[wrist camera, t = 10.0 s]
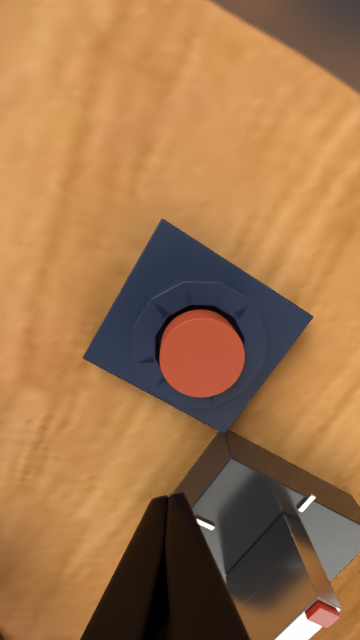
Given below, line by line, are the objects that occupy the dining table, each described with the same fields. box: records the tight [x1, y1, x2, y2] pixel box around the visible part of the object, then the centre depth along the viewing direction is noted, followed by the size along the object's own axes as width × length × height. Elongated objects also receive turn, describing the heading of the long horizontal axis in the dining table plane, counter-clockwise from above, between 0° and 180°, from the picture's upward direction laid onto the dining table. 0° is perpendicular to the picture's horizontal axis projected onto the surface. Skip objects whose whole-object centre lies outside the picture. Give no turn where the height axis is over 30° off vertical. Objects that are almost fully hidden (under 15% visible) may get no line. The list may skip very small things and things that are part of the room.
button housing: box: [83, 219, 313, 433], centre depth 16 cm, size 10×9×4 cm
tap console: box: [173, 430, 360, 586], centre depth 20 cm, size 12×11×3 cm
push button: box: [159, 309, 245, 397], centre depth 14 cm, size 4×4×2 cm
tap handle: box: [226, 513, 342, 640], centre depth 17 cm, size 6×2×5 cm, turn 148°
